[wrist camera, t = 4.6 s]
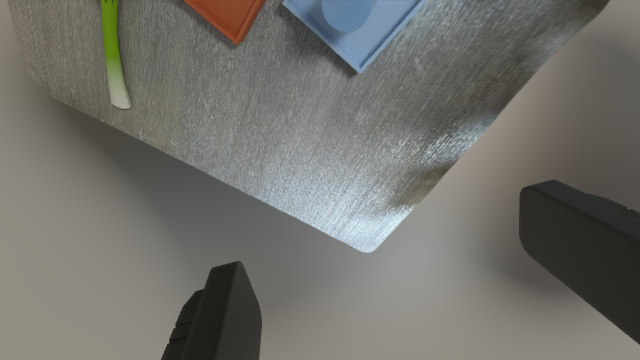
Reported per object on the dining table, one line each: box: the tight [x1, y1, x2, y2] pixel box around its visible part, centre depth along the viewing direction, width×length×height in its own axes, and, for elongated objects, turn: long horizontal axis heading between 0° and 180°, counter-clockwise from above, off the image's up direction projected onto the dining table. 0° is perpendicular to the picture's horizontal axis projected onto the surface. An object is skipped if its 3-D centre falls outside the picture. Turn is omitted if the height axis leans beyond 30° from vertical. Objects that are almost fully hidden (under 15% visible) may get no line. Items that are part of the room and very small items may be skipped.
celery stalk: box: [100, 0, 132, 109], centre depth 57 cm, size 6×7×30 cm
